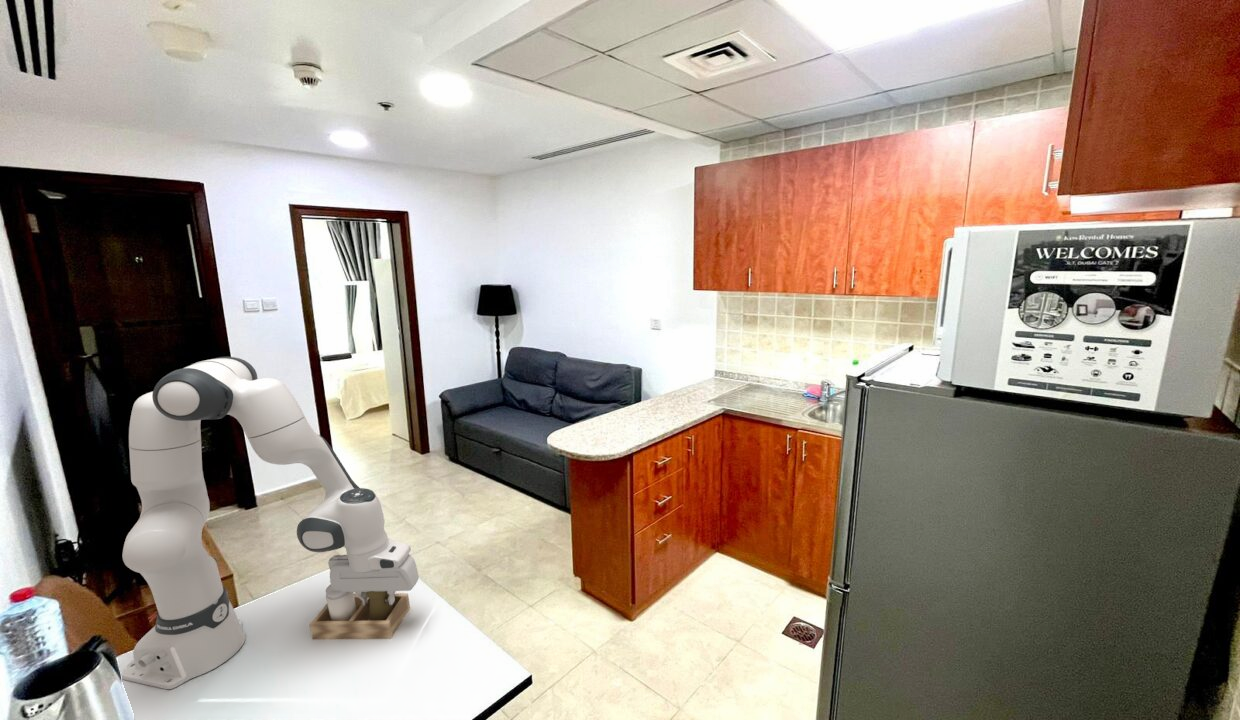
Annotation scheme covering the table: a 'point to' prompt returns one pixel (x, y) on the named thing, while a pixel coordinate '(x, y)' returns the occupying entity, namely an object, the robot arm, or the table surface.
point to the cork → (378, 606)
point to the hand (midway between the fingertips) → (379, 603)
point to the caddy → (360, 622)
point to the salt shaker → (340, 604)
